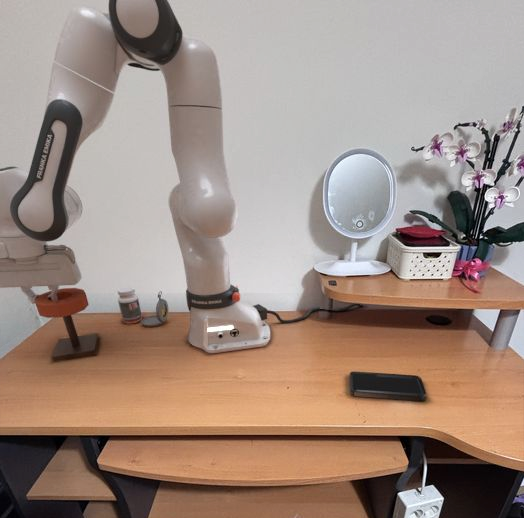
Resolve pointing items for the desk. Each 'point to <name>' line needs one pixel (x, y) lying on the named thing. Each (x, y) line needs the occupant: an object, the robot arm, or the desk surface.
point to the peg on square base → (75, 343)
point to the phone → (387, 386)
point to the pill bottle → (129, 305)
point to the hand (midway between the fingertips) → (45, 302)
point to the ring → (62, 303)
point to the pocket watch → (157, 314)
